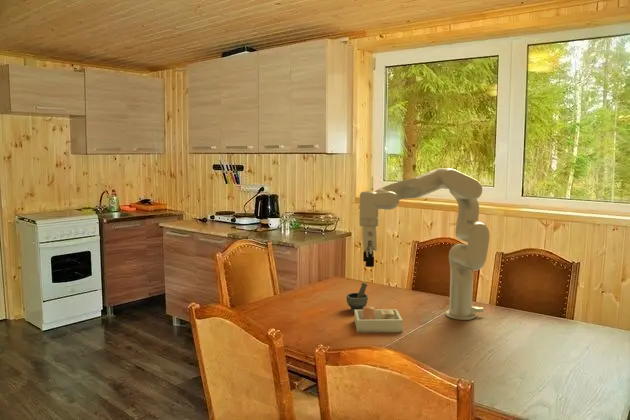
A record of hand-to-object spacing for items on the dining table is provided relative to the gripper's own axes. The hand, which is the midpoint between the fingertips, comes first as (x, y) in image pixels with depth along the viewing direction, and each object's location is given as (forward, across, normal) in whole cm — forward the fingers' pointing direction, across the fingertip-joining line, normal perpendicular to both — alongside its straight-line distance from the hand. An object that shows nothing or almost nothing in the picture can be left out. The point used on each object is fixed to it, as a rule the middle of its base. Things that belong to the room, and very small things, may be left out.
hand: (368, 263), depth 210 cm
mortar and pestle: (+26, +22, +2) cm, 34 cm away
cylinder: (+25, 0, 0) cm, 25 cm away
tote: (+26, 0, -4) cm, 27 cm away
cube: (+25, 0, -8) cm, 27 cm away
